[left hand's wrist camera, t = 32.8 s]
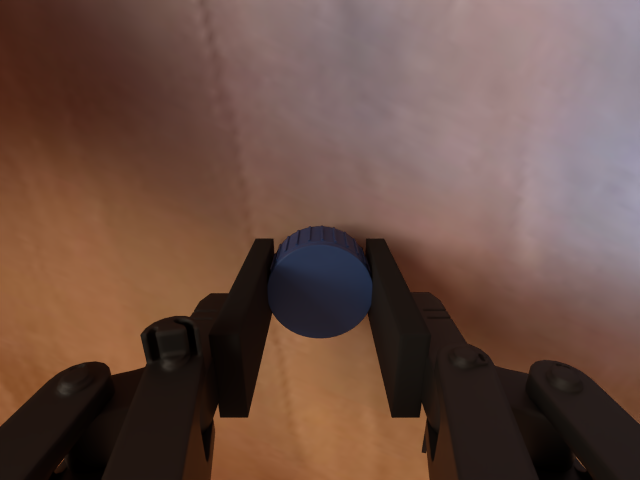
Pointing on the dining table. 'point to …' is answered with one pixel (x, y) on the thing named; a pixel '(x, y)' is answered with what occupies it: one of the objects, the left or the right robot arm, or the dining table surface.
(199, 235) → the dining table surface
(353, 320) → the cap
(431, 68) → the dining table surface
